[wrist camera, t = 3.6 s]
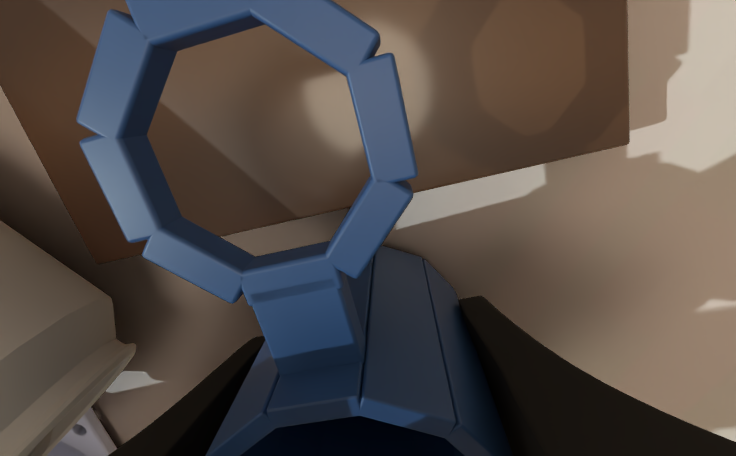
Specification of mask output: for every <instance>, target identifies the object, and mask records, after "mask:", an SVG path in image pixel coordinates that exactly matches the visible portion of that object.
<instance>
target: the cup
mask: <svg viewBox="0 0 736 456" xmlns="http://www.w3.org/2000/svg"><path fill="white" fill-rule="evenodd" d="M125 1H126V3H127V6H128V8H129V11H130V13H131V15H130V14H127V13H124V12H121V11H118V10H114V9H110V10H109V11H108V12H107V15H106V18H105V22H104V25H103V28H102V32H101V35H100V39H99V42H98V46H97V49H96V52H95V56H94V59H93V63H92V66H91V69H90V73H89V76H88V80H87V83H86V87H85V90H84V93H83V97H82V100H81V104H80V107H79V111H78V114H77V117H76V120H77V122H78V123H79V124H80V125H82V126H84V127H85V128H87V129H89V130H91V131H93V132H94V133H96V134H97V135H93V136H90V137H86V138H83V139H82V140H81V141H80V147H81V149H82V151H83V153H84V155H85V157H86V159H87V161H88V163H89V165H90V167H91V169H92V171H93V173H94V175H95V177H96V179H97V181H98V183H99V185H100V187H101V189H102V191H103V193H104V195H105V197H106V199H107V201H108V203H109V205H110V207H111V209H112V211H113V213H114V215H115V217H116V219H117V221H118V223H119V225H120V228H121V230H122V232H123V234H124V236H125V238H126V240H127V241H128V242H131V243H135V242H140V241H144V240H148V241H147V243H146V245H145V248H144V250H143V253H142V256H143V257H144V258H145V259H147V260H149V261H151V262H153V263H154V264H156V265H158V266H160V267H162V268H164V269H166V270H168V271H170V272H172V273H173V274H175V275H177V276H179V277H181V278H183V279H185V280H187V281H189V282H191V283H193V284H194V285H196V286H198V287H200V288H202V289H204V290H206V291H208V292H210V293H212V294H213V295H215V296H217V297H219V298H221V299H223V300H225V301H227V302H229V303H232V304H233V303H235V302H236V301H237V300H238V299H239V298H240V296H241V295H242V294H243V293H244V296H245V298H246V301H247V303H248V305H249V306H252V307H253V310H254V312H255V315H256V317H257V320H258V322H259V325H260V327H261V330H262V332H263V335H264V337H265V342H264V344H263V346H262V348H261V349H260V351H259V353H258V355H257V357H256V359H255V361H254V363H253V365H252V367H251V369H250V371H249V373H248V375H247V376H246V378H245V380H244V382H243V384H242V386H241V388H240V390H239V392H238V394H237V396H236V398H235V400H234V402H233V403H232V405H231V407H230V409H229V411H228V413H227V415H226V417H225V419H224V421H223V423H222V425H221V427H220V429H219V430H218V432H217V434H216V436H215V438H214V440H213V442H212V444H211V446H210V448H209V450H208V452H207V454H206V456H513V454H512V451H511V448H510V445H509V442H508V439H507V437H506V434H505V431H504V428H503V425H502V422H501V419H500V417H499V414H498V411H497V408H496V405H495V402H494V400H493V397H492V394H491V391H490V388H489V385H488V382H487V380H486V377H485V374H484V371H483V368H482V365H481V363H480V360H479V357H478V354H477V351H476V349H475V346H474V344H473V342H472V340H471V337H470V334H469V331H468V329H467V326H466V324H465V321H464V318H463V315H462V312H461V309H460V306H459V301H458V297H457V294H456V292H455V291H454V288H453V287H452V286H451V285H450V284H449V283H448V282H447V281H446V280H445V279H444V278H443V277H442V276H441V275H440V274H439V273H438V272H437V271H436V270H435V269H434V268H433V267H432V266H431V265H430V264H429V263H428V262H427V261H426V260H425V259H422V257H420V256H416V255H413V254H409V253H406V252H402V251H399V250H395V249H392V248H388V247H385V246H381V245H382V243H383V242H384V240H385V239H386V237H387V236H388V234H389V233H390V231H391V230H392V228H393V227H394V225H395V224H396V222H397V221H398V219H399V218H400V216H401V215H402V213H403V212H404V210H405V209H406V207H407V206H408V204H409V203H410V201H411V200H412V198H413V190H412V186H411V185H410V183H408V182H407V181H405V180H408V179H412V178H415V177H417V176H418V168H417V163H416V158H415V154H414V149H413V144H412V139H411V134H410V129H409V124H408V119H407V114H406V109H405V105H404V100H403V95H402V90H401V85H400V80H399V75H398V70H397V65H396V61H395V56H394V55H393V53H385V54H381V55H378V56H375V54H376V52H377V50H378V49H379V47H380V43H381V39H380V34H379V33H378V31H377V30H376V29H374V28H373V27H371V26H370V25H368V24H367V23H365V22H364V21H362V20H361V19H359V18H358V17H356V16H355V15H353V14H352V13H350V12H349V11H347V10H346V9H344V8H343V7H341V6H340V5H338V4H337V3H335V2H334V1H332V0H125ZM262 25H267V26H268V27H270V28H271V29H273V30H275V31H276V32H278V33H279V34H281V35H282V36H284V37H285V38H287V39H289V40H290V41H292V42H293V43H295V44H296V45H298V46H299V47H301V48H302V49H304V50H306V51H307V52H309V53H310V54H312V55H313V56H315V57H316V58H318V59H320V60H321V61H323V62H324V63H326V64H327V65H329V66H330V67H332V68H334V69H335V70H337V71H338V72H340V73H341V74H343V75H344V76H346V77H347V82H348V86H349V90H350V94H351V98H352V102H353V106H354V110H355V114H356V118H357V122H358V126H359V130H360V134H361V138H362V142H363V146H364V150H365V154H366V158H367V162H368V166H369V170H370V174H371V175H370V177H369V179H368V180H367V182H366V183H365V185H364V187H363V188H362V190H361V192H360V193H359V195H358V197H357V198H356V200H355V201H354V203H353V205H352V206H351V208H350V210H349V211H348V213H347V215H346V216H345V218H344V219H343V221H342V223H341V224H340V226H339V228H338V229H337V231H336V233H335V234H334V236H333V237H332V239H331V241H327V242H322V243H318V244H313V245H308V246H304V247H299V248H294V249H290V250H285V251H280V252H276V253H271V254H267V255H262V256H257V257H255V256H253V255H251V254H249V253H248V252H246V251H244V250H242V249H240V248H238V247H237V246H235V245H233V244H231V243H229V242H228V241H226V240H224V239H222V238H220V237H218V236H217V235H215V234H213V233H211V232H209V231H208V230H206V229H204V228H202V227H200V226H198V225H197V224H195V223H193V222H191V221H189V220H187V219H186V218H184V217H182V215H181V213H180V211H179V208H178V206H177V204H176V201H175V199H174V197H173V194H172V192H171V190H170V187H169V185H168V183H167V180H166V178H165V176H164V173H163V171H162V169H161V167H160V164H159V162H158V160H157V157H156V155H155V153H154V150H153V148H152V146H151V143H150V141H149V139H148V136H147V133H148V130H149V127H150V125H151V122H152V119H153V116H154V114H155V111H156V108H157V106H158V103H159V100H160V97H161V95H162V92H163V89H164V86H165V84H166V81H167V78H168V76H169V73H170V70H171V67H172V65H173V62H174V59H175V56H176V54H177V51H180V50H183V49H186V48H190V47H193V46H196V45H199V44H203V43H206V42H209V41H213V40H216V39H219V38H222V37H226V36H229V35H232V34H235V33H239V32H242V31H245V30H249V29H252V28H255V27H258V26H262Z"/></svg>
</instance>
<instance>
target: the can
mask: <svg viewBox="0 0 736 456" xmlns="http://www.w3.org/2000/svg"><path fill="white" fill-rule="evenodd" d="M135 353H136V344H134V343H129V344H123V343H122V342H120V341H118V340H117V339H116V330H115V320H114V309H113V303H112V299H111V297H110V296H108V295H107V294H105V293H104V292H103V291H101V290H100V289H98V288H97V287H95V286H94V285H92V284H91V283H90V282H88V281H87V280H85V279H84V278H82V277H81V276H80V275H78V274H77V273H75V272H74V271H72V270H71V269H69V268H68V267H67V266H65V265H64V264H62V263H61V262H59V261H58V260H57V259H55V258H54V257H52V256H51V255H49V254H48V253H46V252H45V251H44V250H42V249H41V248H39V247H38V246H36V245H35V244H33V243H32V242H31V241H29V240H28V239H26V238H25V237H23V236H22V235H21V234H19V233H18V232H16V231H15V230H13V229H12V228H10V227H9V226H8V225H6V224H5V223H3V222H2V221H0V456H47V455H48V453H49V452H50V451H51V450H52V449H53V448H54V447H55V446H56V445H57V444H58V443H59V442H60V440H61V439H62V438H63V437H64V436H65V435H66V434H67V433H68V432H69V431H70V430H71V429H72V427H73V426H74V425H75V424H76V423H77V422H78V421H79V420H80V419H81V417H82V416H83V415H84V414H85V413H86V412H87V411H88V410H89V409H90V407H91V406H92V405H93V404H94V403H95V402H96V401H97V400H98V398H99V397H100V396H101V395H102V394H103V393H104V392H105V390H106V389H107V388H108V387H109V386H110V385H111V383H112V382H113V381H114V380H115V379H116V378H117V376H118V375H119V374H120V373H121V372H122V370H123V369H124V368H125V367H126V365H127V364H128V363H129V362H130V360H131V359H132V357H133V356H134V355H135Z"/></svg>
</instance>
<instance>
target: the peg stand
mask: <svg viewBox="0 0 736 456" xmlns="http://www.w3.org/2000/svg"><path fill="white" fill-rule="evenodd" d="M332 1H334V2H335V3H337V4H338V5H340V6H341V7H343V8H344V9H346V10H347V11H349V12H350V13H352V14H353V15H355V16H356V17H358V18H359V19H361V20H362V21H364V22H365V23H367V24H368V25H370V26H371V27H373V28H374V29H376V30H377V31H378V33H379V34H380V39H381V43H380V47H379V49H378V50H377V52H376V54H375V56H378V55H381V54H385V53H393V55H394V56H395V61H396V65H397V70H398V75H399V80H400V85H401V90H402V95H403V100H404V105H405V109H406V114H407V119H408V124H409V129H410V134H411V139H412V144H413V149H414V154H415V158H416V163H417V168H418V176H417V177H415V178H412V179H408V180H405V181H407V182H408V183H410V185H411V186H412V190H413V193H416V192H420V191H425V190H429V189H434V188H438V187H443V186H447V185H451V184H456V183H460V182H465V181H469V180H473V179H478V178H482V177H487V176H491V175H496V174H500V173H504V172H509V171H513V170H518V169H522V168H527V167H531V166H535V165H540V164H544V163H549V162H553V161H558V160H562V159H566V158H571V157H575V156H580V155H584V154H588V153H593V152H597V151H602V150H606V149H611V148H615V147H619V146H624V145H627V144H629V79H628V14H627V0H332ZM110 9H114V10H118V11H121V12H124V13H127V14H130V15H131V13H130V11H129V8H128V6H127V3H126V1H125V0H0V86H1V87H2V89H3V91H4V93H5V95H6V97H7V99H8V100H9V102H10V104H11V106H12V108H13V110H14V112H15V114H16V115H17V117H18V119H19V121H20V123H21V125H22V127H23V128H24V130H25V132H26V134H27V136H28V138H29V140H30V142H31V143H32V145H33V147H34V149H35V151H36V153H37V155H38V156H39V158H40V160H41V162H42V164H43V166H44V168H45V169H46V171H47V173H48V175H49V177H50V179H51V181H52V183H53V184H54V186H55V188H56V190H57V192H58V194H59V196H60V197H61V199H62V201H63V203H64V205H65V207H66V209H67V211H68V212H69V214H70V216H71V218H72V220H73V222H74V224H75V225H76V227H77V229H78V231H79V233H80V235H81V237H82V239H83V240H84V242H85V244H86V246H87V248H88V250H89V252H90V253H91V255H92V257H93V259H94V261H95V263H96V264H102V263H106V262H111V261H115V260H120V259H124V258H129V257H133V256H137V255H142V253H143V250H144V248H145V245H146V243H147V241H148V240H144V241H140V242H135V243H131V242H128V241H127V240H126V238H125V236H124V234H123V232H122V230H121V228H120V225H119V223H118V221H117V219H116V217H115V215H114V213H113V211H112V209H111V207H110V205H109V203H108V201H107V199H106V197H105V195H104V193H103V191H102V189H101V187H100V185H99V183H98V181H97V179H96V177H95V175H94V173H93V171H92V169H91V167H90V165H89V163H88V161H87V159H86V157H85V155H84V153H83V151H82V149H81V147H80V141H81V140H82V139H83V138H86V137H90V136H93V135H97V134H96V133H94V132H93V131H91V130H89V129H87V128H85V127H84V126H82V125H80V124H79V123H78V122H77V120H76V117H77V114H78V111H79V107H80V104H81V100H82V97H83V93H84V90H85V87H86V83H87V80H88V76H89V73H90V69H91V66H92V63H93V59H94V56H95V52H96V49H97V46H98V42H99V39H100V35H101V32H102V28H103V25H104V22H105V18H106V15H107V12H108V11H109V10H110ZM147 136H148V139H149V141H150V143H151V146H152V148H153V150H154V153H155V155H156V157H157V160H158V162H159V164H160V167H161V169H162V171H163V173H164V176H165V178H166V180H167V183H168V185H169V187H170V190H171V192H172V194H173V197H174V199H175V201H176V204H177V206H178V208H179V211H180V213H181V215H182V217H184V218H186V219H187V220H189V221H191V222H193V223H195V224H197V225H198V226H200V227H202V228H204V229H206V230H208V231H209V232H211V233H213V234H215V235H217V236H218V237H221V236H226V235H230V234H235V233H239V232H244V231H248V230H252V229H257V228H261V227H266V226H270V225H274V224H279V223H283V222H288V221H292V220H297V219H301V218H305V217H310V216H314V215H319V214H323V213H328V212H332V211H336V210H341V209H345V208H350V207H351V206H352V205H353V203H354V201H355V200H356V198H357V197H358V195H359V193H360V192H361V190H362V188H363V187H364V185H365V183H366V182H367V180H368V179H369V177H370V175H371V174H370V170H369V166H368V162H367V158H366V154H365V150H364V146H363V142H362V138H361V134H360V130H359V126H358V122H357V118H356V114H355V110H354V106H353V102H352V98H351V94H350V90H349V86H348V82H347V77H346V76H344V75H343V74H341V73H340V72H338V71H337V70H335V69H334V68H332V67H330V66H329V65H327V64H326V63H324V62H323V61H321V60H320V59H318V58H316V57H315V56H313V55H312V54H310V53H309V52H307V51H306V50H304V49H302V48H301V47H299V46H298V45H296V44H295V43H293V42H292V41H290V40H289V39H287V38H285V37H284V36H282V35H281V34H279V33H278V32H276V31H275V30H273V29H271V28H270V27H268V26H267V25H262V26H258V27H255V28H252V29H249V30H245V31H242V32H239V33H235V34H232V35H229V36H226V37H222V38H219V39H216V40H213V41H209V42H206V43H203V44H199V45H196V46H193V47H190V48H186V49H183V50H180V51H177V54H176V56H175V59H174V62H173V65H172V67H171V70H170V73H169V76H168V78H167V81H166V84H165V86H164V89H163V92H162V95H161V97H160V100H159V103H158V106H157V108H156V111H155V114H154V116H153V119H152V122H151V125H150V127H149V130H148V133H147Z"/></svg>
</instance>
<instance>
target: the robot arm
mask: <svg viewBox="0 0 736 456" xmlns="http://www.w3.org/2000/svg"><path fill="white" fill-rule="evenodd" d="M458 301H459V306H460V309H461V312H462V315H463V318H464V321H465V324H466V326H467V329H468V331H469V334H470V337H471V340H472V342H473V344H474V346H475V349H476V351H477V354H478V357H479V360H480V363H481V365H482V368H483V371H484V374H485V377H486V380H487V382H488V385H489V388H490V391H491V394H492V397H493V400H494V402H495V405H496V408H497V411H498V414H499V417H500V419H501V422H502V425H503V428H504V431H505V434H506V437H507V439H508V442H509V445H510V448H511V451H512V454H513V456H736V442H734V441H731V440H729V439H726V438H724V437H722V436H719V435H717V434H714V433H712V432H709V431H707V430H704V429H702V428H699V427H697V426H694V425H692V424H690V423H687V422H685V421H683V420H680V419H678V418H676V417H674V416H671V415H669V414H667V413H665V412H662V411H660V410H658V409H656V408H654V407H652V406H650V405H648V404H645V403H643V402H641V401H639V400H637V399H635V398H633V397H631V396H629V395H627V394H625V393H623V392H621V391H619V390H617V389H615V388H613V387H611V386H609V385H607V384H605V383H603V382H602V381H600V380H598V379H596V378H595V377H593V376H591V375H589V374H588V373H586V372H584V371H582V370H580V369H579V368H577V367H575V366H574V365H572V364H571V363H569V362H567V361H566V360H564V359H563V358H561V357H560V356H558V355H557V354H555V353H554V352H552V351H551V350H549V349H548V348H546V347H545V346H543V345H542V344H541V343H539V342H538V341H536V340H535V339H534V338H532V337H531V336H530V335H529V334H527V333H526V332H525V331H523V330H522V329H521V328H519V327H518V326H517V325H515V324H514V323H513V322H512V321H511V320H509V319H508V318H507V317H506V316H505V315H503V314H502V313H501V312H500V311H499V310H498V309H496V308H495V307H494V306H493V305H492V304H491V303H490V302H489V301H488V300H487V299H485V298H484V297H482V296H477V297H471V298H466V299H460V300H458ZM264 342H265V337H264V336H259V337H254V338H253V339H251V340H250V341H248V342H247V343H246V344H245V345H243V346H242V347H241V348H240V349H238V350H237V351H236V352H235V353H234V354H233V355H231V356H230V357H229V358H228V359H227V360H226V361H225V362H224V363H222V364H221V365H220V366H219V367H218V368H217V369H216V370H214V371H213V372H212V373H211V374H210V375H209V376H208V377H206V378H205V379H204V380H203V381H202V382H201V383H200V384H198V385H197V386H196V387H195V388H194V389H193V390H192V391H190V392H189V393H188V394H187V395H185V396H184V397H183V398H182V399H181V400H179V401H178V402H177V403H176V404H175V405H173V406H172V407H171V408H170V409H169V410H167V411H166V412H165V413H164V414H163V415H161V416H160V417H159V418H158V419H156V420H155V421H154V422H153V423H151V424H150V425H149V426H147V427H146V428H145V429H143V430H142V431H141V432H140V433H138V434H137V435H136V436H134V437H133V438H131V439H130V440H129V441H127V442H126V443H124V444H123V445H122V446H120V447H119V448H118V449H117V448H116V446H115V444H114V443H113V441H112V440H111V438H110V436H109V435H108V433H107V432H106V430H105V428H104V427H103V425H102V424H101V422H100V421H99V419H98V417H97V416H96V414H95V413H94V411H93V409H92V408H91V407H90V409H89V410H88V411H87V412H86V413H85V414H84V415H83V416H82V417H81V419H80V420H79V421H78V422H77V423H76V424H75V425H74V426H73V427H72V429H71V430H70V431H69V432H68V433H67V434H66V435H65V436H64V437H63V438H62V439H61V440H60V442H59V443H58V444H57V445H56V446H55V447H54V448H53V449H52V450H51V451H50V452H49V453H48V455H47V456H206V454H207V452H208V450H209V448H210V446H211V444H212V442H213V440H214V438H215V436H216V434H217V432H218V430H219V429H220V427H221V425H222V423H223V421H224V419H225V417H226V415H227V413H228V411H229V409H230V407H231V405H232V403H233V402H234V400H235V398H236V396H237V394H238V392H239V390H240V388H241V386H242V384H243V382H244V380H245V378H246V376H247V375H248V373H249V371H250V369H251V367H252V365H253V363H254V361H255V359H256V357H257V355H258V353H259V351H260V349H261V348H262V346H263V344H264Z"/></svg>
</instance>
